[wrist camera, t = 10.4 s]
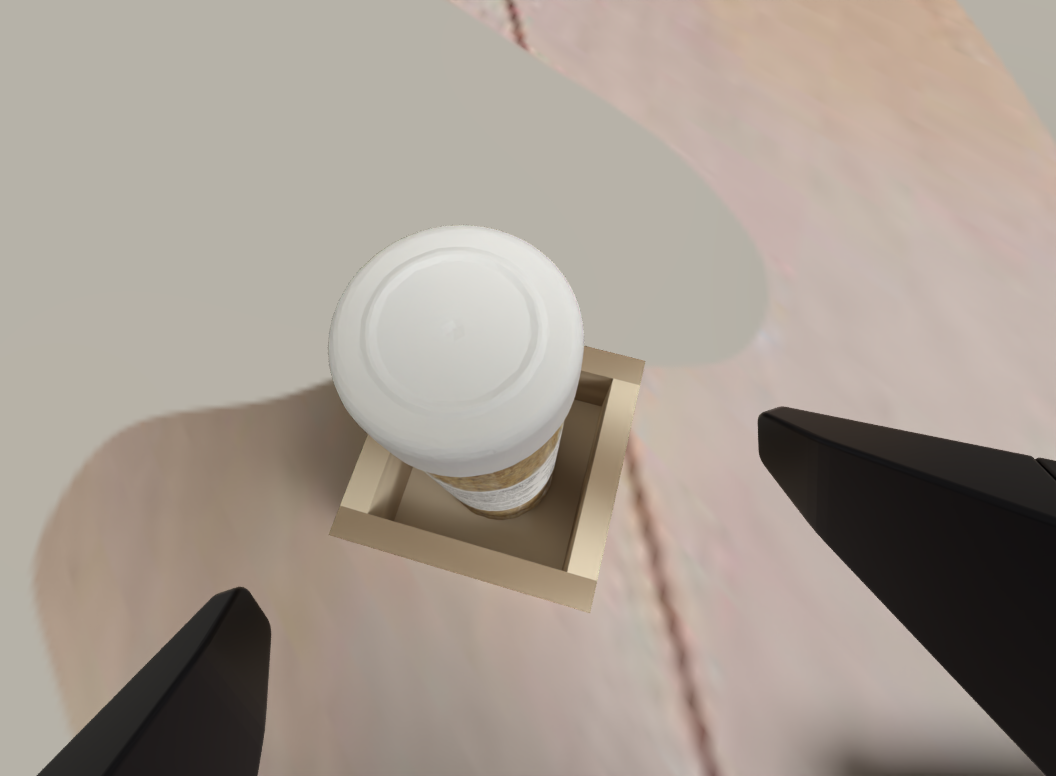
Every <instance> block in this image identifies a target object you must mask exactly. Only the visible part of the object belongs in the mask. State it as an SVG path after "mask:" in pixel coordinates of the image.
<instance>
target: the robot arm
mask: <svg viewBox="0 0 1056 776" xmlns="http://www.w3.org/2000/svg"><path fill="white" fill-rule="evenodd" d="M758 446H759V455H760V458H761V461H762V462H763V464H764V466H765V467H766V468H767V470H768V471H769V472H770V474H771V475H772V476H773V478H774V479H775V480H776V481H777V483H778V484H779V485H780V487H781V488H782V489H783V491H784V492H785V493H786V494H787V496H788V497H789V498H790V500H791V501H792V502H793V504H794V505H795V506H796V508H797V509H798V510H799V511H800V513H801V514H802V515H803V517H804V518H805V519H806V521H807V522H808V523H809V524H810V525H811V527H812V528H813V529H814V530H815V532H816V533H817V534H818V535H819V536H820V537H821V538H822V539H823V540H824V542H825V543H826V544H827V545H828V546H829V547H830V548H831V549H832V550H833V551H834V552H835V553H836V554H837V555H838V556H839V557H840V559H841V560H842V561H843V562H844V563H845V564H846V565H847V566H848V567H849V568H850V569H851V570H852V571H853V572H854V573H855V574H856V575H857V577H858V578H859V579H860V580H861V581H862V582H863V583H864V584H865V585H866V586H867V587H868V588H869V589H870V590H871V591H872V592H873V593H874V595H875V596H876V597H877V598H878V599H879V600H880V601H881V602H882V603H883V604H884V605H885V606H886V607H887V608H888V609H889V610H890V611H891V612H892V614H893V615H894V616H895V617H896V618H897V619H898V620H899V621H900V622H901V623H902V624H903V625H904V626H905V627H906V628H907V629H908V630H909V632H910V633H911V634H912V635H913V636H914V637H915V638H916V639H917V640H918V641H919V642H920V643H921V644H922V645H923V646H924V647H925V648H926V649H927V651H928V652H929V653H930V654H931V655H932V656H933V657H934V658H935V659H936V660H937V661H938V662H939V663H940V664H941V665H942V666H943V667H944V669H945V670H946V671H947V672H948V673H949V674H950V675H951V676H952V677H953V678H954V679H955V680H956V681H957V682H958V683H959V684H960V685H961V686H962V688H963V689H964V690H965V691H966V692H967V693H968V694H969V695H970V696H971V697H972V698H973V699H974V700H975V701H976V702H977V703H978V704H979V706H980V707H981V708H982V709H983V710H984V711H985V712H986V713H987V714H988V715H989V716H990V717H991V718H992V719H993V720H994V721H995V722H996V724H997V725H998V726H999V727H1000V728H1001V729H1002V730H1003V731H1004V732H1005V733H1006V734H1007V735H1008V736H1009V737H1010V738H1011V739H1012V740H1013V741H1014V743H1015V744H1016V745H1017V746H1018V747H1019V748H1020V749H1021V750H1022V751H1023V752H1024V753H1025V754H1026V755H1027V756H1028V757H1029V758H1030V759H1031V761H1032V762H1033V763H1034V764H1035V765H1036V766H1037V767H1038V768H1039V769H1040V770H1041V771H1042V772H1043V773H1044V774H1045V775H1046V776H1056V461H1054V460H1049V459H1044V458H1037V459H1034V458H1033V457H1032V456H1029V455H1024V454H1019V453H1013V452H1008V451H1003V450H998V449H993V448H988V447H983V446H978V445H973V444H968V443H963V442H958V441H953V440H948V439H943V438H938V437H933V436H928V435H923V434H918V433H913V432H908V431H903V430H898V429H893V428H888V427H883V426H878V425H873V424H868V423H863V422H858V421H854V420H849V419H844V418H839V417H834V416H829V415H824V414H819V413H814V412H809V411H804V410H799V409H794V408H789V407H777V408H774V409H771V410H768V411H765V412H763V413H761V414H760V415H759V418H758ZM270 647H271V627H270V623H269V621H268V619H267V617H266V616H265V614H264V613H263V611H262V610H261V608H260V607H259V605H258V604H257V602H256V601H255V599H254V598H253V596H252V595H251V593H250V592H249V591H248V590H247V589H246V588H244V587H236V588H233V589H230V590H227V591H224V592H221V593H219V594H216V595H215V596H213V597H212V598H211V599H210V600H209V601H208V602H207V603H206V604H205V605H204V606H203V607H202V608H201V609H200V610H199V611H198V612H197V613H196V614H195V615H194V616H193V617H192V618H191V619H190V620H189V621H188V623H187V624H186V625H185V626H184V627H183V628H182V629H181V630H180V631H179V632H178V633H177V634H176V635H175V636H174V637H173V638H172V639H171V640H170V641H169V642H168V643H167V644H166V645H165V646H164V647H163V648H162V649H161V650H160V651H159V652H158V653H157V654H156V655H155V656H154V657H153V658H152V659H151V660H150V661H149V662H148V663H147V664H146V665H145V666H144V667H143V668H142V669H141V670H140V671H139V672H138V673H137V674H136V675H135V676H134V677H133V678H132V679H131V680H130V681H129V682H128V683H127V684H126V685H125V686H124V687H123V688H122V689H121V690H120V692H119V693H118V694H117V695H116V696H115V697H114V698H113V699H112V700H111V701H110V702H109V703H108V704H107V705H106V706H105V707H104V708H103V709H102V710H101V711H100V712H99V713H98V714H97V715H96V716H95V717H94V718H93V719H92V720H91V721H90V722H89V723H88V724H87V725H86V726H85V727H84V728H83V729H82V730H81V731H80V732H79V733H78V734H77V735H76V736H75V737H74V738H73V739H72V740H71V741H70V742H69V743H68V744H67V745H66V746H65V747H64V748H63V749H62V750H61V751H60V752H59V753H58V754H57V756H55V758H54V759H53V760H52V761H51V762H50V763H49V764H48V765H47V766H46V767H45V768H44V769H43V770H42V771H41V772H40V773H39V774H38V775H37V776H257V775H258V769H259V763H260V757H261V751H262V745H263V738H264V732H265V722H266V709H267V694H268V678H269V662H270Z"/></svg>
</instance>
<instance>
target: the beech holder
mask: <svg viewBox="0 0 1056 776" xmlns="http://www.w3.org/2000/svg"><path fill="white" fill-rule="evenodd" d="M644 365H645V361H643V360H639V359H635V358H631V357H627V356H623V355H619V354H615V353H611V352H607V351H603V350H599V349H595V348H591V347H587V346H584V352H583V360H582V367H581V373H580V378H579V382H578V387H577V391H576V395H575V398H574V401H573V403H572V406H571V408H570V410H569V413H568V415H567V416H566V418H565V420H564V425H563V430H562V434H561V439H560V443H559V448H558V453H557V458H556V462H555V470H554V477H553V480H552V483H551V486H550V489H549V490H548V492H547V494H546V495H545V497H544V498H543V499H542V501H541V502H540V503H539V504H538V505H537V506H535V507H534V508H533V509H532V510H530V511H528V512H527V513H524V514H522V515H521V516H519V517H516V518H512V519H505V520H495V519H488V518H486V517H484V516H479V515H476V514H474V513H473V512H471V511H470V510H469V509H468V508H467V507H465V506H464V505H463V504H462V503H461V502H460V501H459V500H458V499H457V498H456V497H454V496H453V495H452V494H451V493H449V492H448V491H447V490H446V489H444V488H443V487H442V486H441V485H440V484H438V483H437V482H436V481H435V480H434V479H432V478H431V477H430V476H429V475H428V474H426V473H425V472H424V471H423V470H419V469H417V468H415V467H413V466H410V465H408V464H406V463H405V462H403V461H402V460H400V459H398V458H397V457H396V456H394V455H393V454H392V453H390V452H389V451H388V450H386V449H385V448H384V447H383V446H381V445H380V444H379V443H377V442H376V441H375V440H374V439H373V438H372V437H371V436H370V435H369V434H368V435H367V438H366V440H365V443H364V445H363V448H362V451H361V453H360V456H359V458H358V461H357V463H356V466H355V468H354V471H353V474H352V476H351V479H350V481H349V484H348V486H347V489H346V492H345V494H344V497H343V499H342V502H341V504H340V507H339V509H338V512H337V515H336V517H335V520H334V522H333V525H332V527H331V530H330V533H329V535H331V536H334V537H338V538H341V539H344V540H348V541H351V542H354V543H358V544H361V545H364V546H368V547H371V548H374V549H378V550H381V551H384V552H388V553H391V554H394V555H398V556H401V557H404V558H408V559H411V560H414V561H418V562H421V563H424V564H428V565H431V566H434V567H438V568H441V569H444V570H448V571H451V572H454V573H458V574H461V575H464V576H468V577H471V578H474V579H478V580H481V581H484V582H488V583H491V584H494V585H498V586H501V587H504V588H508V589H511V590H514V591H518V592H521V593H524V594H528V595H531V596H534V597H538V598H541V599H544V600H548V601H551V602H554V603H558V604H561V605H564V606H568V607H571V608H574V609H578V610H581V611H584V612H588V613H590V611H591V606H592V602H593V597H594V593H595V588H596V584H597V579H598V574H599V570H600V565H601V561H602V556H603V552H604V547H605V543H606V538H607V533H608V529H609V524H610V520H611V515H612V511H613V506H614V502H615V497H616V492H617V488H618V483H619V479H620V474H621V470H622V465H623V461H624V456H625V451H626V447H627V442H628V438H629V433H630V429H631V424H632V419H633V415H634V410H635V406H636V401H637V397H638V392H639V388H640V383H641V378H642V374H643V369H644Z"/></svg>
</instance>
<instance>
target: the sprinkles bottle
mask: <svg viewBox="0 0 1056 776" xmlns="http://www.w3.org/2000/svg"><path fill="white" fill-rule="evenodd" d="M583 330H584V329H583V322H582V316H581V311H580V308H579V305H578V302H577V299H576V297H575V295H574V293H573V291H572V289H571V287H570V285H569V283H568V281H567V279H566V278H565V277H564V275H563V274H562V272H561V271H560V270H559V269H558V268H557V267H556V265H555V264H554V263H553V262H552V261H551V260H550V259H549V258H548V257H547V256H545V255H544V254H543V253H542V252H541V251H539V250H538V249H537V248H535V247H534V246H532V245H531V244H529V243H528V242H526V241H524V240H522V239H520V238H518V237H516V236H514V235H511V234H508V233H506V232H503V231H499V230H496V229H492V228H488V227H481V226H473V225H451V226H440V227H435V228H431V229H426V230H423V231H420V232H417V233H414V234H412V235H409V236H407V237H404V238H402V239H400V240H398V241H396V242H394V243H393V244H391V245H389V246H388V247H386V248H385V249H383V250H382V251H380V252H379V253H377V254H376V255H375V256H374V257H373V258H372V259H370V260H369V261H368V262H367V263H366V264H365V265H364V266H363V267H362V268H361V269H360V270H359V271H358V272H357V274H356V275H355V276H354V277H353V279H352V280H351V281H350V282H349V284H348V286H347V288H346V289H345V291H344V293H343V294H342V296H341V298H340V300H339V302H338V305H337V307H336V310H335V312H334V315H333V318H332V323H331V327H330V332H329V342H328V355H329V366H330V371H331V375H332V378H333V382H334V385H335V387H336V390H337V392H338V394H339V397H340V399H341V401H342V403H343V405H344V407H345V408H346V410H347V411H348V413H349V414H350V415H351V416H352V418H353V419H354V420H355V421H356V422H357V424H358V425H359V426H360V427H361V428H362V429H363V430H365V431H366V432H367V433H368V434H369V435H370V436H371V437H372V438H373V439H374V440H375V441H376V442H377V443H379V444H380V445H381V446H383V447H384V448H385V449H386V450H388V451H389V452H390V453H392V454H393V455H394V456H396V457H397V458H398V459H400V460H402V461H403V462H405V463H406V464H408V465H410V466H413V467H415V468H417V469H419V470H423V471H424V472H425V473H426V474H428V475H429V476H430V477H431V478H432V479H434V480H435V481H436V482H437V483H438V484H440V485H441V486H442V487H443V488H444V489H446V490H447V491H448V492H449V493H451V494H452V495H453V496H454V497H456V498H457V499H458V500H459V501H460V502H461V503H462V504H463V505H464V506H465V507H467V508H468V509H469V510H470V511H471V512H473V513H474V514H476V515H479V516H484V517H486V518H488V519H495V520H505V519H512V518H516V517H519V516H521V515H522V514H524V513H527V512H528V511H530V510H532V509H533V508H534V507H535V506H537V505H538V504H539V503H540V502H541V501H542V499H543V498H544V497H545V495H546V494H547V492H548V490H549V489H550V486H551V483H552V480H553V477H554V470H555V462H556V458H557V453H558V448H559V443H560V439H561V434H562V430H563V425H564V420H565V418H566V416H567V415H568V413H569V410H570V408H571V406H572V403H573V401H574V398H575V395H576V391H577V387H578V382H579V378H580V373H581V367H582V360H583V352H584V331H583Z"/></svg>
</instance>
